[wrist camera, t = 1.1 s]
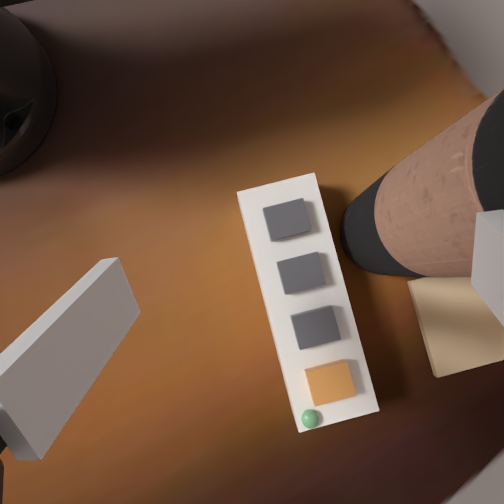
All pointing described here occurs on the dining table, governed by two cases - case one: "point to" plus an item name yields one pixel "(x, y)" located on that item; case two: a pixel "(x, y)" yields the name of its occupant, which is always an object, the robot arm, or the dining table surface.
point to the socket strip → (307, 302)
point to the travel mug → (431, 201)
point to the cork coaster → (456, 324)
